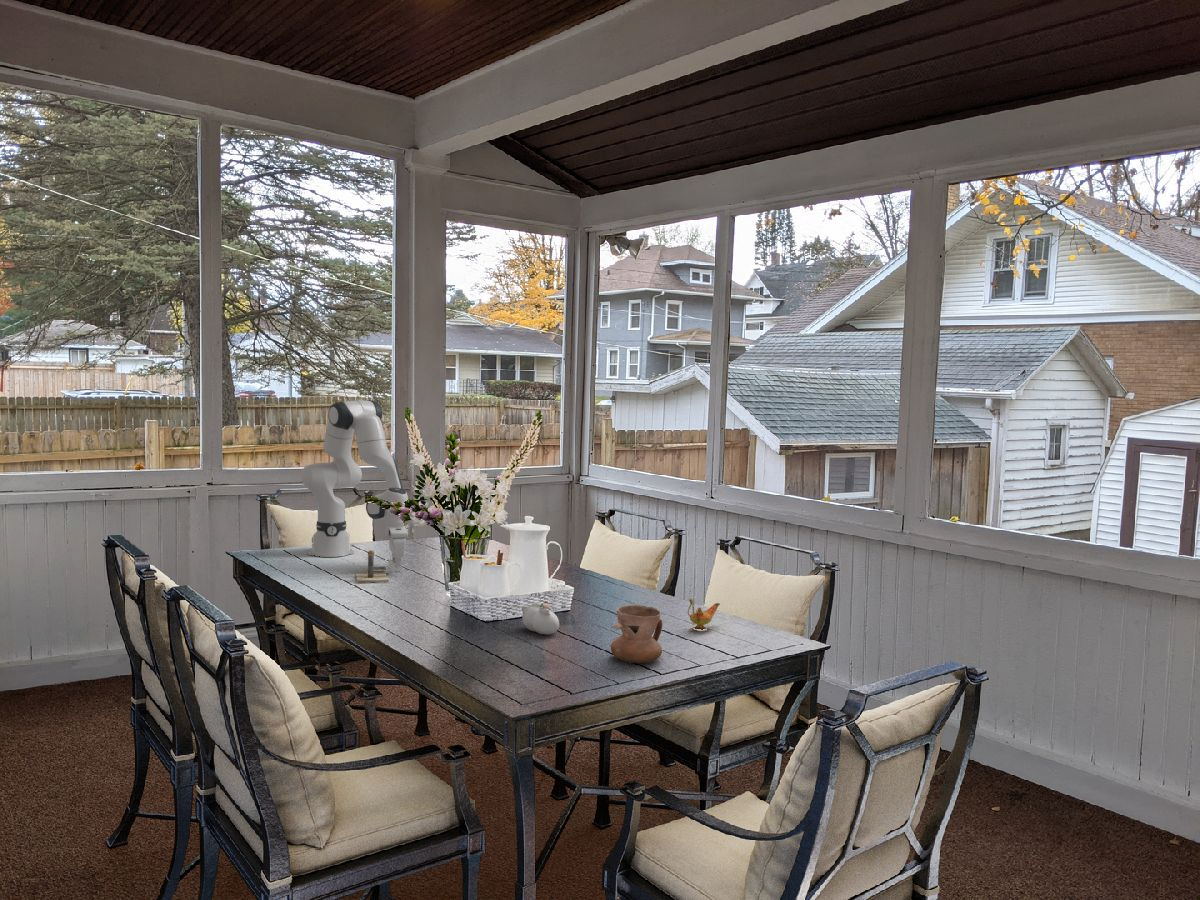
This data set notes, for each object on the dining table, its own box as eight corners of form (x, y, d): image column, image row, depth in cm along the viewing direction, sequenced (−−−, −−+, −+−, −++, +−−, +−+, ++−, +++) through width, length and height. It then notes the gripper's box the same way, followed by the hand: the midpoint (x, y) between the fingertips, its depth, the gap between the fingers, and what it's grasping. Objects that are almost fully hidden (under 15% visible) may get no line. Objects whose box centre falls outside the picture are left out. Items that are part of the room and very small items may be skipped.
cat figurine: (561, 606, 270) (527, 591, 280) (543, 623, 266) (509, 608, 275) (569, 629, 275) (535, 613, 285) (551, 646, 271) (518, 630, 280)
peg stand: (355, 575, 341) (355, 546, 340) (384, 574, 344) (385, 545, 343) (357, 583, 328) (358, 553, 327) (388, 582, 332) (388, 552, 331)
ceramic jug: (630, 671, 241) (633, 620, 240) (596, 656, 252) (599, 607, 251) (677, 661, 253) (681, 612, 251) (643, 647, 264) (646, 600, 263)
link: (366, 570, 351) (367, 559, 350) (400, 568, 355) (400, 557, 355) (368, 574, 343) (368, 563, 343) (402, 573, 348) (403, 562, 347)
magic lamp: (727, 625, 290) (729, 592, 289) (695, 636, 277) (697, 601, 276) (709, 621, 295) (711, 588, 294) (677, 631, 281) (679, 597, 280)
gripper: (385, 525, 358) (385, 559, 359) (391, 534, 338) (390, 570, 340) (401, 525, 360) (401, 559, 361) (408, 533, 341) (407, 569, 342)
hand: (396, 564), depth 350 cm, fingers open, 8 cm apart
